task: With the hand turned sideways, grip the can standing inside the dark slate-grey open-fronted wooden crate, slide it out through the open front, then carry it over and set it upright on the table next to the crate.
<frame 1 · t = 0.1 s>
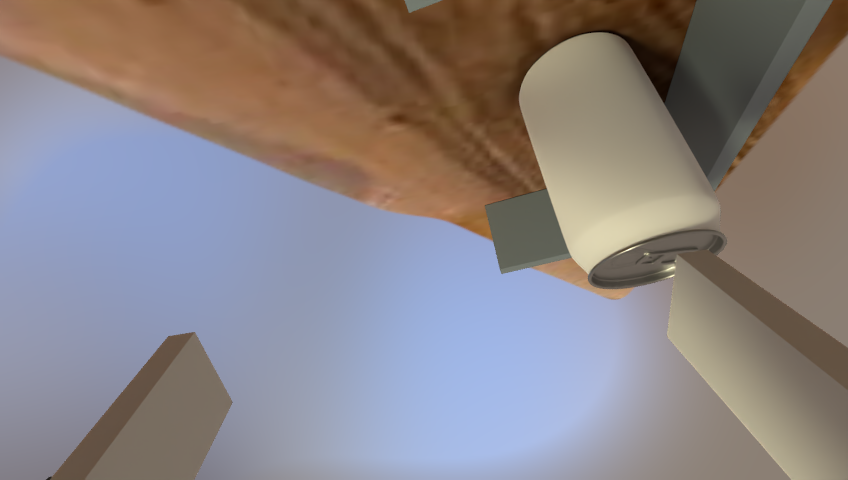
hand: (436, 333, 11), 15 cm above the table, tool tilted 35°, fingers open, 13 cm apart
crate: (572, 79, 23), on the table
can: (570, 76, 23), on the table
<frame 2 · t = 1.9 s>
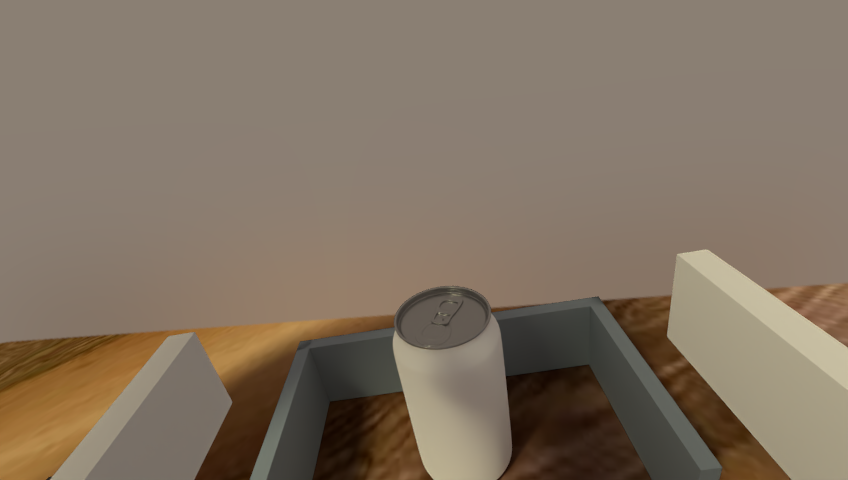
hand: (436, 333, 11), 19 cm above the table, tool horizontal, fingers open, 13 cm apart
crate: (466, 448, 28), on the table
can: (466, 450, 28), on the table
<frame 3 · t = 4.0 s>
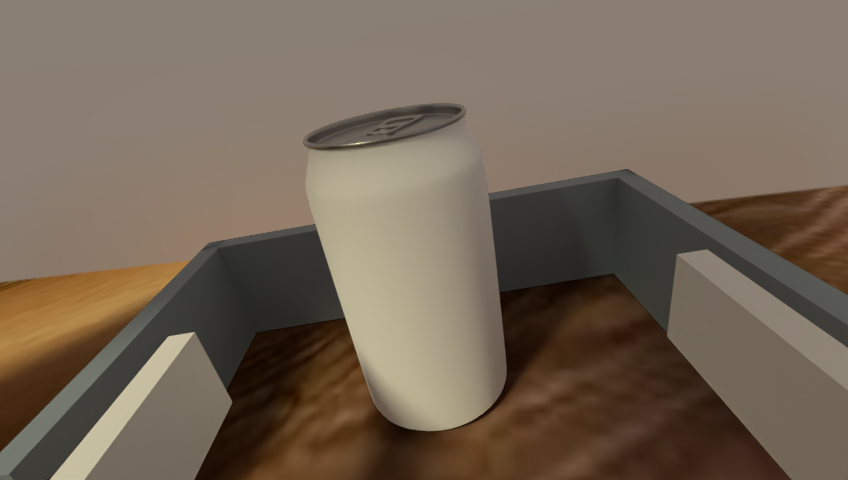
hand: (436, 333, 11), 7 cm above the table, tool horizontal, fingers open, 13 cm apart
crate: (438, 377, 19), on the table
can: (439, 380, 19), on the table
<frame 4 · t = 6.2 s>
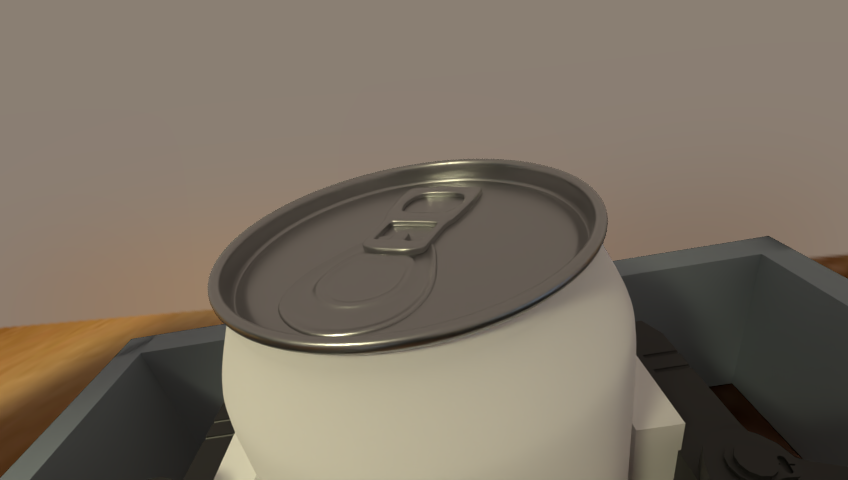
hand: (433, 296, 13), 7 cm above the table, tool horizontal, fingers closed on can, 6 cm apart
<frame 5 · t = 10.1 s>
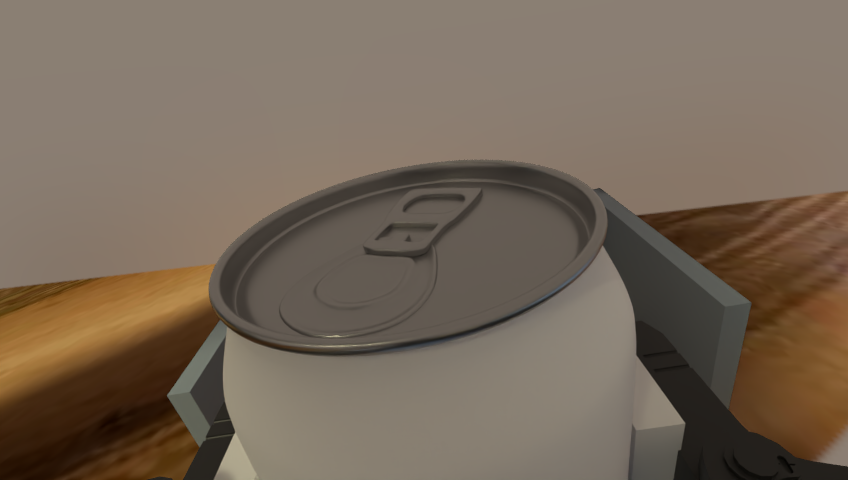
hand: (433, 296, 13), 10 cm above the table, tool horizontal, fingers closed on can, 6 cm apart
crate: (453, 347, 25), on the table
when the fingers open (8 cm above the table, at t = 13.9 s): can stays where it is, on the table.
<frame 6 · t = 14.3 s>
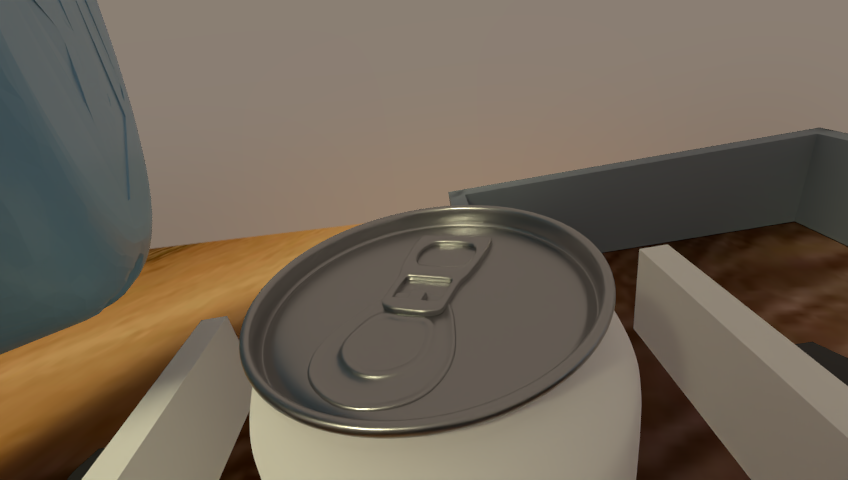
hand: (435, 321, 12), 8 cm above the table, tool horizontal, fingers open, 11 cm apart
crate: (684, 296, 23), on the table
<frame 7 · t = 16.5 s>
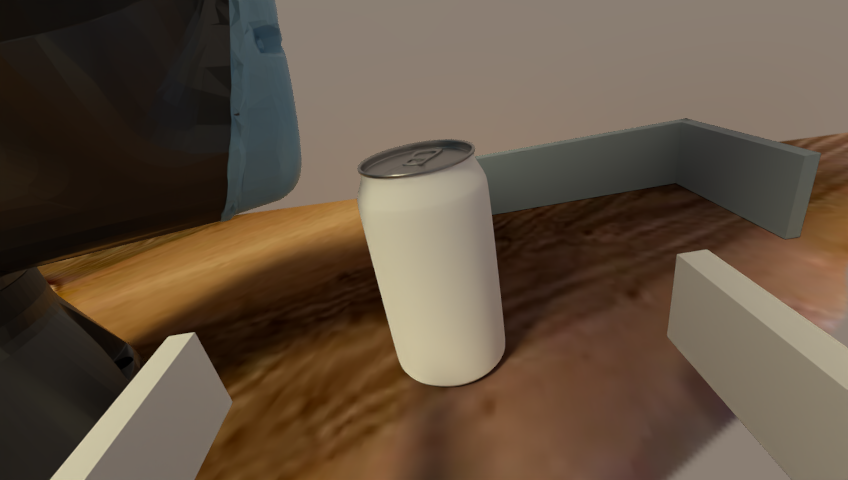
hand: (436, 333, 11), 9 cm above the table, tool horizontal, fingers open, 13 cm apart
crate: (588, 226, 35), on the table
can: (452, 352, 24), on the table
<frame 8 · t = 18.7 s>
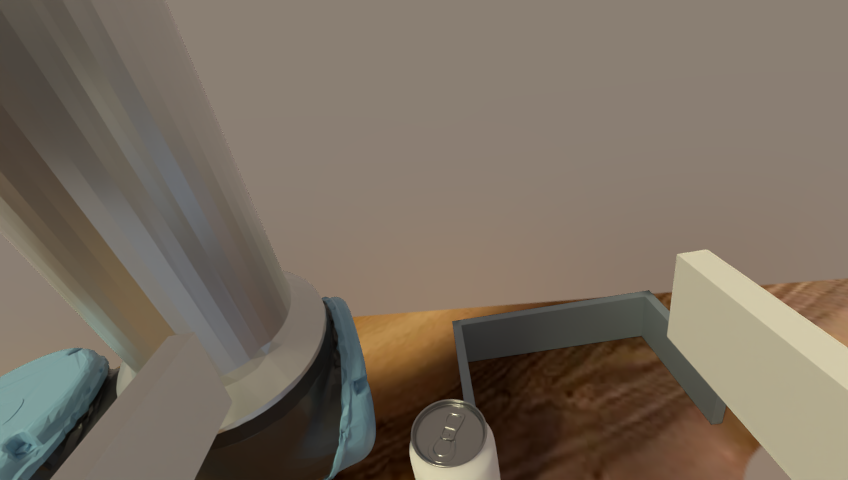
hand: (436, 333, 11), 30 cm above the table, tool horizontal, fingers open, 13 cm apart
crate: (570, 385, 45), on the table
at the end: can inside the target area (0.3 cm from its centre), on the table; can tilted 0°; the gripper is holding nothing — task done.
